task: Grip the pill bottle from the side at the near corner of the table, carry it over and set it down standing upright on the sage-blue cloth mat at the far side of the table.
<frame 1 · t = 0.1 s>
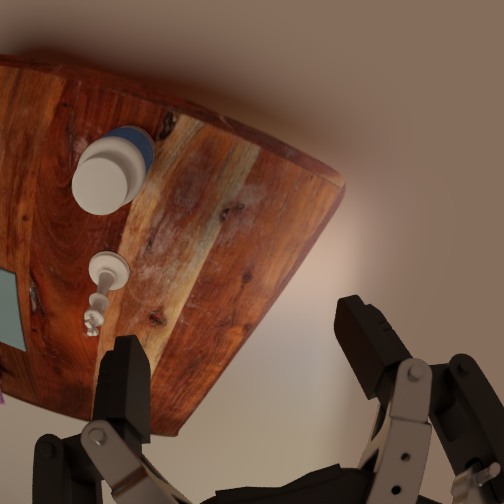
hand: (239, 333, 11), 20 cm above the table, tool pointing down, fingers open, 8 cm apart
pill bottle: (128, 152, 25), on the table
chess piece: (109, 268, 31), on the table
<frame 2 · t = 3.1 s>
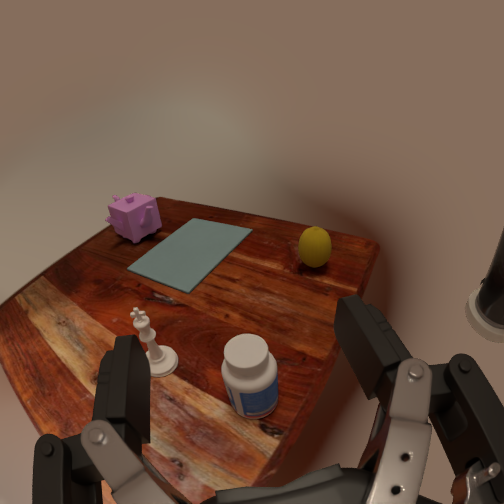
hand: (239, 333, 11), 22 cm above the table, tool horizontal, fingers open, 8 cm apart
teapot: (137, 235, 66), on the table
cloth mat: (191, 249, 59), on the table
pill bottle: (254, 400, 31), on the table
lemon: (313, 268, 51), on the table
chess piece: (161, 363, 36), on the table
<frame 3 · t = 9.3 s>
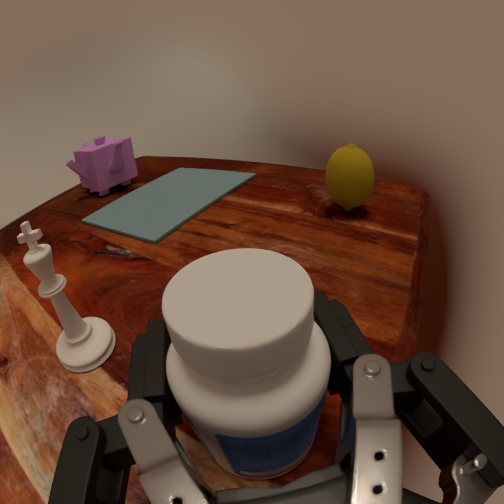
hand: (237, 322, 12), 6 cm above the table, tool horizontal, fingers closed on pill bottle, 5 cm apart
teapot: (107, 189, 48), on the table
cloth mat: (170, 196, 41), on the table
pill bottle: (259, 435, 13), on the table, touching gripper
lemon: (347, 212, 33), on the table
chess piece: (87, 348, 18), on the table
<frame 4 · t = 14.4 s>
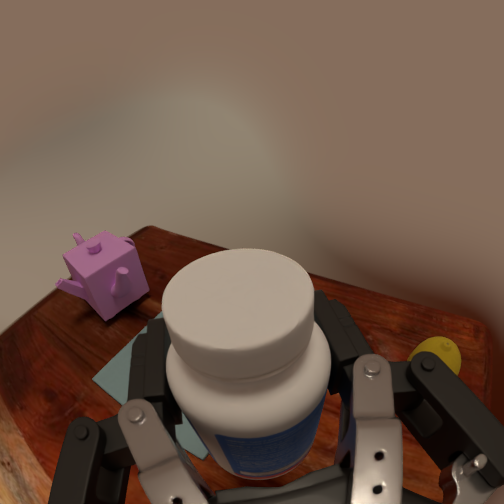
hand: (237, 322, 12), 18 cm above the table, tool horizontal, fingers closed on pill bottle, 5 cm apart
teapot: (111, 301, 40), on the table
cloth mat: (200, 348, 32), on the table
pill bottle: (259, 435, 13), point 11 cm above the table, touching gripper
lemon: (416, 392, 24), on the table
when the fingers open (6 cm above the table, at t = 19.6 s): pill bottle stays where it is, resting on cloth mat.
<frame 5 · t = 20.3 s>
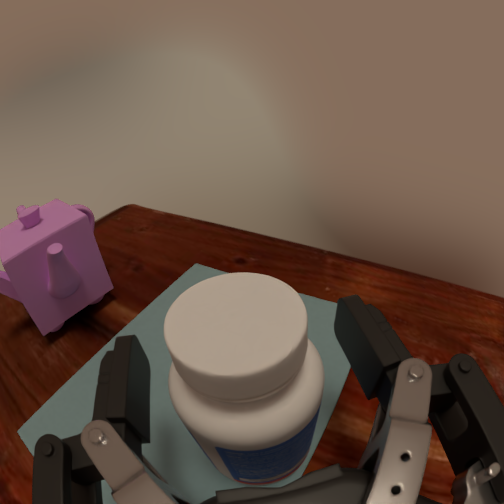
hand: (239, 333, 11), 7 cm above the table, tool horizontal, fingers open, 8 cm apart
teapot: (62, 305, 24), on the table
cloth mat: (193, 393, 16), on the table
pill bottle: (257, 442, 13), resting on cloth mat
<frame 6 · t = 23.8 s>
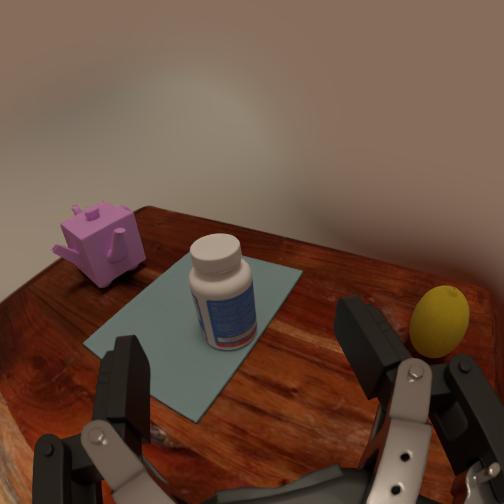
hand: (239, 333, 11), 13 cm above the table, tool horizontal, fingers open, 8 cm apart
teapot: (107, 272, 39), on the table
cloth mat: (196, 310, 32), on the table
pill bottle: (230, 332, 28), resting on cloth mat
lemon: (424, 353, 24), on the table
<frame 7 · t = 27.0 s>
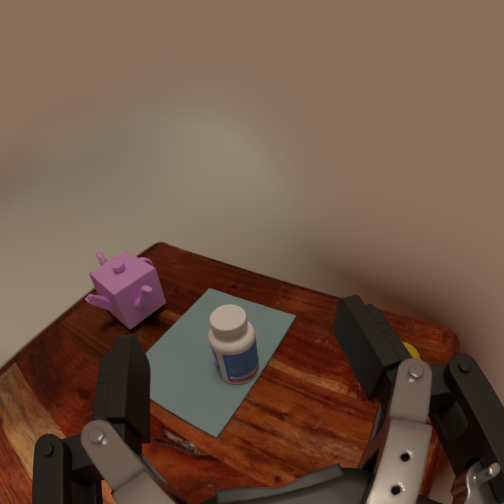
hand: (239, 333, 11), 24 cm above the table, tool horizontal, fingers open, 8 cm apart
teapot: (132, 312, 47), on the table
cloth mat: (211, 350, 40), on the table
pill bottle: (238, 369, 36), resting on cloth mat
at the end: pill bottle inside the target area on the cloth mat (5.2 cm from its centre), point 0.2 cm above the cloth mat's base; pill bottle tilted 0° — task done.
